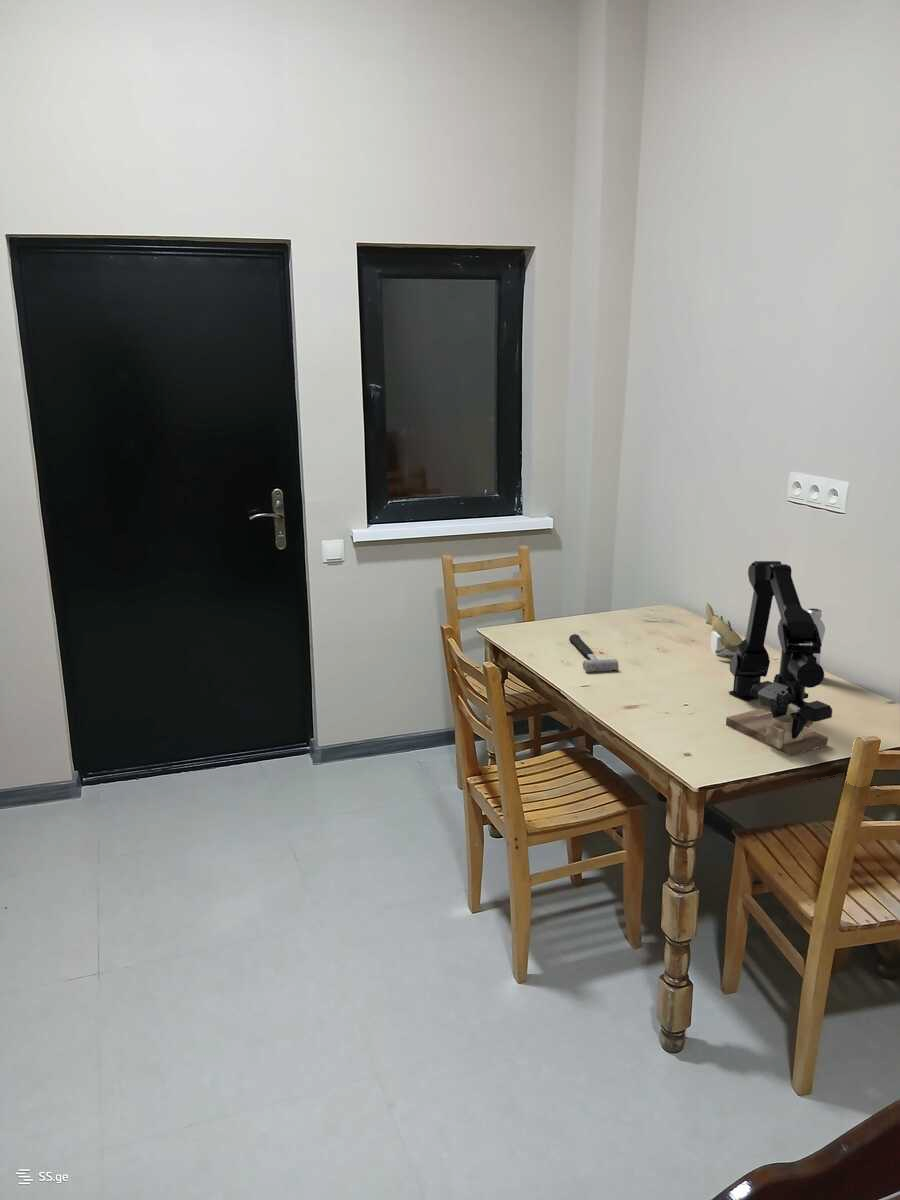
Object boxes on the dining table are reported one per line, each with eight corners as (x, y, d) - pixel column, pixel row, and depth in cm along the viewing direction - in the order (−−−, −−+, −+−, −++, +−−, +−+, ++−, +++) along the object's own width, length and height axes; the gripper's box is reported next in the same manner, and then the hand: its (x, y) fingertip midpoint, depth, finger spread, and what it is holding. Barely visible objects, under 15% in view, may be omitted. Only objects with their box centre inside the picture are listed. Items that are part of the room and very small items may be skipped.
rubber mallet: (588, 632, 273) (618, 660, 244) (588, 642, 274) (618, 672, 245) (560, 633, 272) (586, 662, 243) (559, 644, 273) (586, 674, 244)
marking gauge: (765, 742, 194) (767, 719, 192) (801, 732, 199) (804, 710, 198) (779, 748, 190) (781, 725, 189) (815, 738, 196) (818, 715, 194)
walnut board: (725, 724, 207) (726, 716, 206) (761, 715, 212) (761, 708, 212) (790, 756, 190) (791, 747, 189) (827, 745, 195) (828, 737, 194)
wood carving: (718, 633, 279) (720, 601, 277) (753, 668, 246) (756, 632, 243) (691, 633, 280) (693, 601, 277) (723, 669, 246) (726, 633, 243)
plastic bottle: (791, 677, 238) (798, 610, 233) (801, 671, 243) (808, 605, 238) (814, 683, 234) (821, 614, 229) (823, 676, 238) (831, 609, 233)
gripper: (736, 665, 194) (731, 727, 198) (801, 691, 178) (794, 757, 182) (771, 657, 199) (765, 718, 203) (837, 682, 183) (829, 747, 187)
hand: (786, 734), depth 194 cm, fingers closed on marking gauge, 4 cm apart
